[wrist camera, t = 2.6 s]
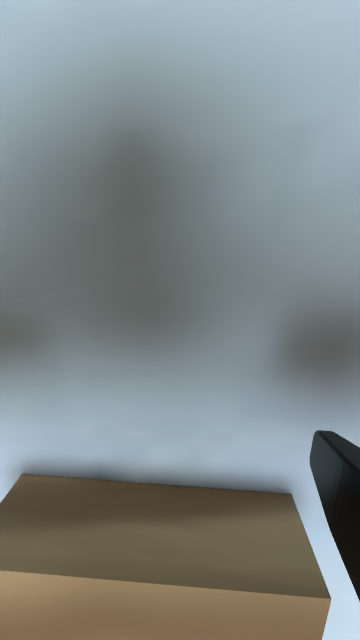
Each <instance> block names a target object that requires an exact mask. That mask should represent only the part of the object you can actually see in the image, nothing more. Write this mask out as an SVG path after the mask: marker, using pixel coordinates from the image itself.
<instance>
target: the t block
mask: <svg viewBox="0 0 360 640" xmlns="http://www.w3.org/2000/svg"><path fill="white" fill-rule="evenodd" d="M330 603H331V597H330V594H329V592H328V589H327V586H326V584H325V581H324V578H323V576H322V573H321V571H320V568H319V565H318V563H317V560H316V558H315V555H314V552H313V550H312V547H311V544H310V542H309V539H308V537H307V534H306V531H305V529H304V526H303V524H302V521H301V518H300V516H299V513H298V510H297V508H296V505H295V503H294V500H293V497H292V495H291V494H282V493H269V492H255V491H242V490H229V489H215V488H202V487H189V486H176V485H162V484H149V483H136V482H122V481H109V480H96V479H83V478H69V477H56V476H43V475H29V474H22V475H21V476H20V478H19V479H18V480H17V482H16V483H15V484H14V486H13V487H12V488H11V490H10V491H9V492H8V494H7V495H6V496H5V498H4V499H3V501H2V502H1V503H0V640H322V636H323V632H324V628H325V624H326V619H327V615H328V611H329V607H330Z"/></svg>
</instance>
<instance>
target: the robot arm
mask: <svg viewBox="0 0 360 640" xmlns="http://www.w3.org/2000/svg"><path fill="white" fill-rule="evenodd" d="M310 466H311V470H312V473H313V477H314V480H315V483H316V486H317V490H318V493H319V496H320V500H321V503H322V506H323V509H324V513H325V516H326V519H327V522H328V525H329V528H330V531H331V533H332V536H333V538H334V541H335V543H336V545H337V548H338V550H339V553H340V555H341V558H342V560H343V562H344V565H345V567H346V570H347V572H348V574H349V577H350V579H351V582H352V584H353V586H354V589H355V591H356V594H357V596H358V598H359V601H360V448H359V447H358V446H356V445H354V444H353V443H351V442H349V441H348V440H346V439H344V438H343V437H341V436H339V435H338V434H336V433H335V432H332V431H322V430H317V431H316V432H315V434H314V437H313V442H312V448H311V453H310Z"/></svg>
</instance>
